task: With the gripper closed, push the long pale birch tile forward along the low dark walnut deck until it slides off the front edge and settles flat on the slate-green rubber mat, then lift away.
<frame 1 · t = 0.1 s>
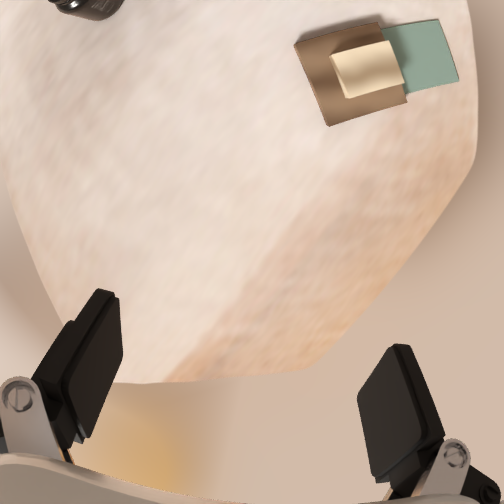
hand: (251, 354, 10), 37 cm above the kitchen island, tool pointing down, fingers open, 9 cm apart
walnut deck: (350, 72, 37), on the kitchen island
rubber mat: (420, 55, 34), on the kitchen island
birch tile: (364, 69, 35), point 2 cm above the kitchen island, touching walnut deck
supplement bottle: (104, 2, 32), on the kitchen island
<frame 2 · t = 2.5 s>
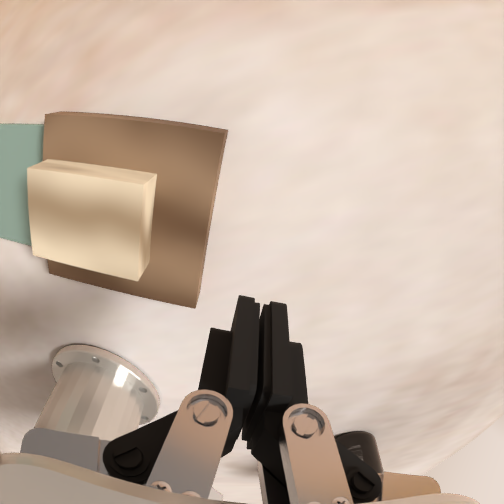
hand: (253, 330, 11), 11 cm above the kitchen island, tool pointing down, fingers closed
walnut deck: (127, 203, 21), on the kitchen island
rubber mat: (7, 183, 20), on the kitchen island
birch tile: (95, 209, 19), point 2 cm above the kitchen island, touching walnut deck
supplement bottle: (349, 441, 35), on the kitchen island
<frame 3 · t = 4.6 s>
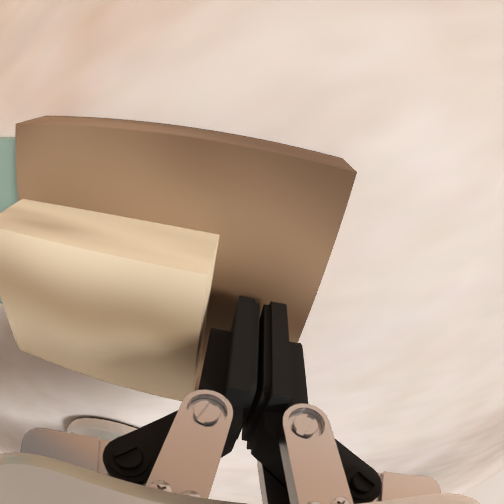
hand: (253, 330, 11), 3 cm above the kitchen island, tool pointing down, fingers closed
walnut deck: (163, 267, 13), on the kitchen island
birch tile: (108, 284, 12), point 2 cm above the kitchen island, touching gripper
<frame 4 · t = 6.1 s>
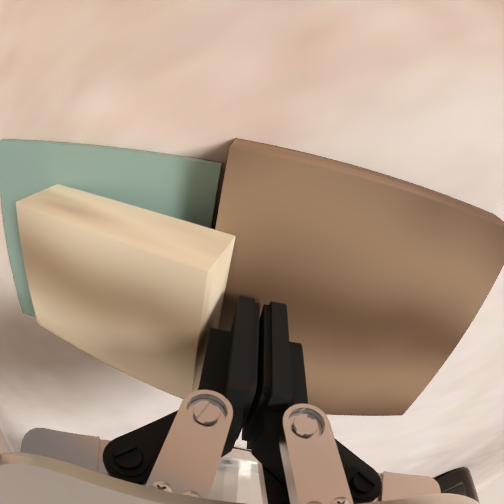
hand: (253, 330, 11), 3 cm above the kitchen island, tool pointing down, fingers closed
walnut deck: (343, 302, 14), on the kitchen island
rubber mat: (91, 253, 13), on the kitchen island
birch tile: (129, 274, 12), point 1 cm above the kitchen island, tilted 13°, touching gripper, rubber mat, walnut deck
supplement bottle: (445, 476, 28), on the kitchen island
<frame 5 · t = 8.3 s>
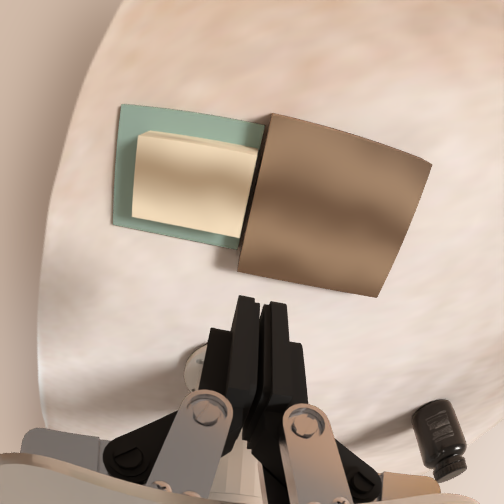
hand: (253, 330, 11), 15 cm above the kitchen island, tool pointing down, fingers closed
walnut deck: (330, 208, 24), on the kitchen island
rubber mat: (180, 176, 24), on the kitchen island
birch tile: (196, 177, 23), resting on rubber mat
supplement bottle: (430, 410, 39), on the kitchen island
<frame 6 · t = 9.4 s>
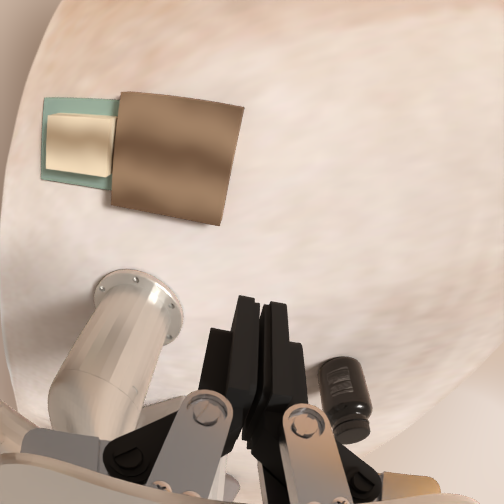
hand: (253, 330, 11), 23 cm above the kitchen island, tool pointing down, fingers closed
walnut deck: (174, 154, 31), on the kitchen island
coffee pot: (236, 480, 69), on the kitchen island
rubber mat: (78, 141, 30), on the kitchen island
birch tile: (86, 140, 30), resting on rubber mat
supplement bottle: (339, 369, 45), on the kitchen island
grey triangular vase: (184, 416, 53), on the kitchen island
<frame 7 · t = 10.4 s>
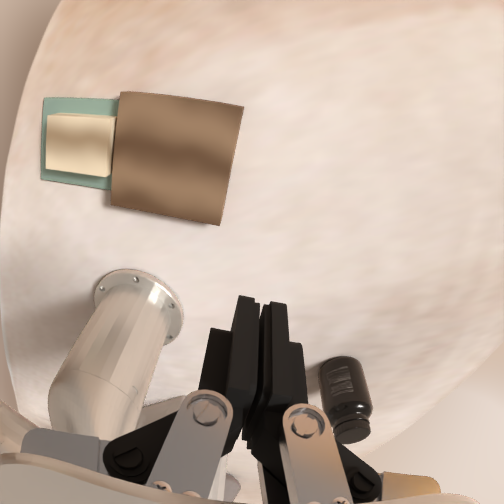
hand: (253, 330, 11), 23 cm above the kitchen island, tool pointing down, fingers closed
walnut deck: (174, 154, 31), on the kitchen island
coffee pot: (236, 479, 69), on the kitchen island
rubber mat: (78, 141, 30), on the kitchen island
birch tile: (85, 140, 30), resting on rubber mat
supplement bottle: (339, 369, 45), on the kitchen island
grey triangular vase: (185, 416, 53), on the kitchen island
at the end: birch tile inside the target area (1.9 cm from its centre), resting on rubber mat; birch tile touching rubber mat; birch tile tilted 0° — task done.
